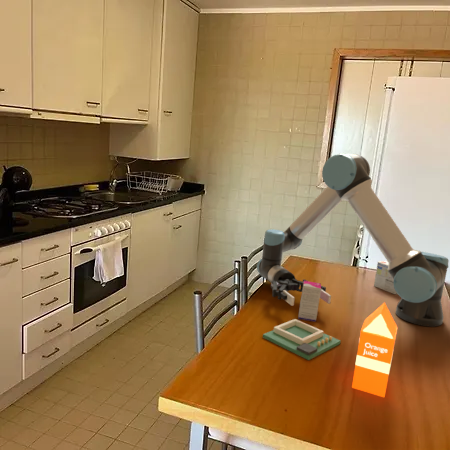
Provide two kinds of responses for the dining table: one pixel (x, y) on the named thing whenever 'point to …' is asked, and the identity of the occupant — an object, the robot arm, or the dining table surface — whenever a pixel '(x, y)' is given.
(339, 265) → the dining table surface
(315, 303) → the supplement box
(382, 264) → the light bulb box
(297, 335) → the socket board
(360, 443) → the dining table surface
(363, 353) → the orange juice
